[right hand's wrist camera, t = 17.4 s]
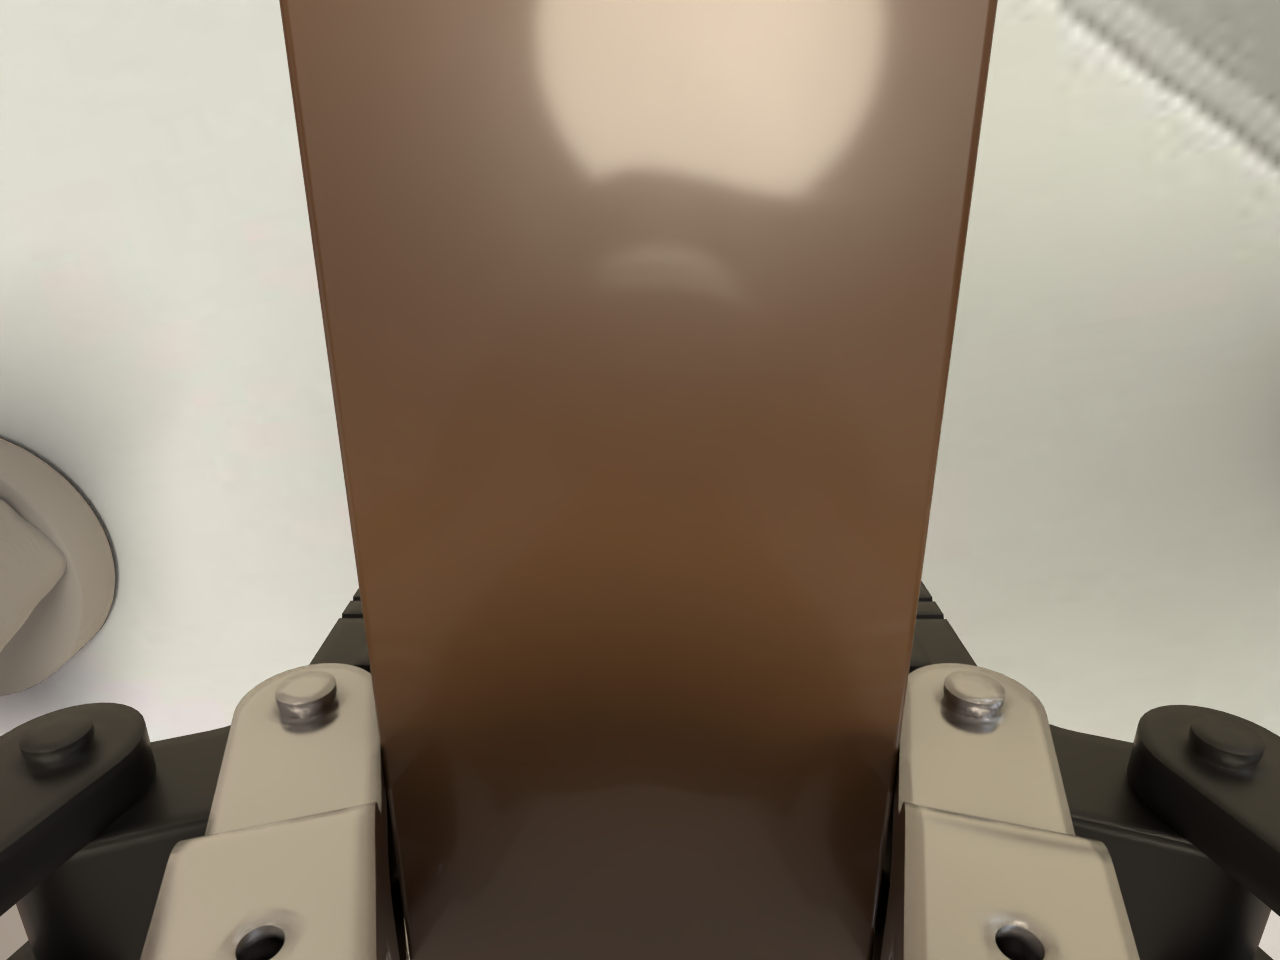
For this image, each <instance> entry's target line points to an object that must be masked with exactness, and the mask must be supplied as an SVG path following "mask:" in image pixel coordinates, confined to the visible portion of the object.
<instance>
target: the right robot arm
mask: <svg viewBox="0 0 1280 960" xmlns="http://www.w3.org/2000/svg"><path fill="white" fill-rule="evenodd" d="M15 904H16V905H17V908H18V911H19V914H20V917H21V919H22V922H23V925H24V928H25V931H26V934H27V936H28V939H29V940H28V941H27V942H26V943H25V944H24V945H23V946H22V947H21V948H19V949H18V950H17V951H16V952H15V953H14V954H13V955H12V956H10V957H9V958H8V959H7V960H409V950H408V943H407V935H406V928H405V921H404V913H403V906H402V898H401V891H400V884H399V876H398V869H397V862H396V854H395V847H394V840H393V832H392V825H391V818H390V810H389V803H388V795H387V788H386V781H385V773H384V766H383V759H382V751H381V744H380V737H379V729H378V722H377V715H376V707H375V700H374V692H373V685H372V678H371V670H370V663H369V656H368V648H367V641H366V634H365V626H364V619H363V612H362V604H361V597H360V590H359V589H358V590H357V592H356V593H355V595H354V596H353V601H350V603H349V604H348V606H347V607H346V609H345V610H344V612H343V613H342V618H339V620H338V621H337V623H336V624H335V626H334V627H333V629H332V630H331V632H330V634H329V635H328V637H327V638H326V640H325V641H324V643H323V644H322V646H321V647H320V649H319V651H318V652H317V654H316V655H315V657H314V658H313V660H312V661H311V663H310V664H309V665H307V666H302V667H298V668H295V669H291V670H288V671H285V672H282V673H280V674H277V675H275V676H273V677H271V678H269V679H267V680H265V681H263V682H262V683H260V684H258V685H257V686H256V687H254V688H253V689H252V690H250V691H249V692H248V693H247V694H246V695H245V696H244V697H243V698H242V699H241V701H240V702H239V704H238V705H237V707H236V709H235V712H234V715H233V719H232V723H231V725H230V726H227V727H224V728H219V729H215V730H211V731H206V732H201V733H196V734H191V735H186V736H181V737H176V738H171V739H166V740H161V741H156V742H151V743H150V740H149V736H148V732H147V728H146V724H145V721H144V718H143V716H142V715H141V714H140V713H139V712H138V711H137V710H135V709H134V708H132V707H129V706H126V705H123V704H116V703H92V704H84V705H78V706H73V707H68V708H64V709H60V710H57V711H54V712H51V713H48V714H45V715H42V716H40V717H37V718H35V719H32V720H30V721H28V722H26V723H24V724H22V725H20V726H18V727H16V728H14V729H13V730H11V731H9V732H7V733H6V734H4V735H2V736H1V737H0V916H1V915H2V914H4V913H5V912H6V911H7V910H8V909H10V908H11V907H12V906H13V905H15ZM1271 909H1272V910H1273V911H1274V912H1275V913H1276V914H1278V915H1279V916H1280V737H1279V736H1278V735H1276V734H1274V733H1272V732H1271V731H1269V730H1267V729H1265V728H1263V727H1261V726H1259V725H1257V724H1255V723H1253V722H1251V721H1248V720H1246V719H1243V718H1241V717H1238V716H1235V715H1232V714H1229V713H1226V712H1222V711H1218V710H1214V709H1210V708H1204V707H1198V706H1189V705H1169V706H1162V707H1158V708H1155V709H1152V710H1150V711H1148V712H1147V713H1145V714H1144V715H1143V716H1142V717H1141V718H1140V721H1139V724H1138V727H1137V731H1136V735H1135V739H1134V743H1130V742H1125V741H1120V740H1115V739H1110V738H1105V737H1100V736H1095V735H1090V734H1085V733H1080V732H1075V731H1071V730H1067V729H1063V728H1060V727H1056V726H1053V725H1050V724H1049V723H1048V718H1047V714H1046V711H1045V709H1044V706H1043V705H1042V703H1041V702H1040V700H1039V699H1038V698H1037V697H1036V696H1035V695H1034V694H1033V693H1032V692H1031V691H1030V690H1028V689H1027V688H1026V687H1025V686H1023V685H1022V684H1020V683H1018V682H1017V681H1015V680H1013V679H1011V678H1009V677H1007V676H1005V675H1003V674H1000V673H998V672H995V671H992V670H989V669H985V668H982V667H978V666H977V665H976V663H975V662H974V660H973V659H972V657H971V656H970V654H969V653H968V651H967V650H966V648H965V647H964V645H963V644H962V642H961V641H960V639H959V638H958V636H957V634H956V633H955V631H954V630H953V628H952V627H951V625H950V624H949V622H948V621H947V619H944V617H943V613H942V612H941V610H940V609H939V607H938V605H937V604H936V602H932V596H931V595H930V593H929V592H928V590H927V589H926V587H925V586H924V584H923V583H922V581H921V585H920V592H919V600H918V607H917V615H916V623H915V630H914V638H913V645H912V653H911V660H910V668H909V676H908V683H907V691H906V698H905V706H904V713H903V721H902V729H901V736H900V744H899V751H898V759H897V766H896V774H895V782H894V789H893V797H892V804H891V812H890V819H889V827H888V835H887V842H886V850H885V857H884V865H883V872H882V880H881V888H880V895H879V903H878V910H877V918H876V925H875V933H874V941H873V948H872V956H871V960H1273V959H1272V958H1271V957H1270V956H1269V955H1267V954H1266V953H1265V952H1264V951H1263V950H1262V949H1261V948H1260V947H1258V945H1259V943H1260V940H1261V937H1262V934H1263V931H1264V929H1265V926H1266V923H1267V920H1268V917H1269V915H1270V912H1271Z"/></svg>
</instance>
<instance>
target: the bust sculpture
mask: <svg viewBox="0 0 1280 960" xmlns="http://www.w3.org/2000/svg"><path fill="white" fill-rule="evenodd" d="M114 590H115V569H114V562H113V557H112V553H111V549H110V546H109V543H108V540H107V537H106V535H105V533H104V531H103V528H102V526H101V524H100V523H99V521H98V519H97V517H96V516H95V514H94V512H93V511H92V509H91V508H90V507H89V505H88V504H87V502H86V501H85V500H84V499H83V497H82V496H81V495H80V494H79V493H78V491H77V490H76V489H75V488H74V487H73V486H72V485H71V484H70V483H69V482H68V481H67V480H66V479H65V478H64V477H63V476H62V475H60V474H59V473H58V472H57V471H56V470H54V469H53V468H52V467H51V466H49V465H48V464H47V463H45V462H44V461H42V460H41V459H39V458H38V457H36V456H35V455H33V454H32V453H30V452H28V451H26V450H25V449H23V448H21V447H19V446H17V445H15V444H13V443H11V442H8V441H6V440H4V439H1V438H0V696H3V695H8V694H12V693H16V692H19V691H22V690H25V689H28V688H30V687H32V686H34V685H36V684H38V683H40V682H42V681H43V680H45V679H46V678H48V677H49V676H51V675H52V674H53V673H54V672H55V671H57V670H58V669H59V668H60V667H61V666H62V665H63V664H64V663H65V662H67V661H68V660H69V659H70V658H71V657H72V656H73V655H74V654H76V653H77V652H78V651H79V650H80V649H81V648H82V647H83V646H84V645H86V644H87V643H88V642H89V641H90V640H91V639H92V638H93V637H94V636H95V635H96V633H97V632H98V631H99V630H100V628H101V627H102V625H103V623H104V622H105V620H106V618H107V616H108V613H109V611H110V608H111V605H112V601H113V597H114Z"/></svg>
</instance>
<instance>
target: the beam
mask: <svg viewBox="0 0 1280 960" xmlns="http://www.w3.org/2000/svg"><path fill="white" fill-rule="evenodd" d="M279 1H280V8H281V16H282V23H283V30H284V38H285V45H286V53H287V60H288V67H289V75H290V82H291V89H292V97H293V104H294V111H295V119H296V126H297V133H298V141H299V148H300V156H301V163H302V170H303V178H304V185H305V192H306V200H307V207H308V214H309V222H310V229H311V236H312V244H313V251H314V259H315V266H316V273H317V281H318V288H319V295H320V303H321V310H322V317H323V325H324V332H325V339H326V347H327V354H328V361H329V369H330V376H331V384H332V391H333V398H334V406H335V413H336V420H337V428H338V435H339V442H340V450H341V457H342V464H343V472H344V479H345V487H346V494H347V501H348V509H349V516H350V523H351V531H352V538H353V545H354V553H355V560H356V567H357V575H358V582H359V590H360V597H361V604H362V612H363V619H364V626H365V634H366V641H367V648H368V656H369V663H370V670H371V678H372V685H373V692H374V700H375V707H376V715H377V722H378V729H379V737H380V744H381V751H382V759H383V766H384V773H385V781H386V788H387V795H388V803H389V810H390V818H391V825H392V832H393V840H394V847H395V854H396V862H397V869H398V876H399V884H400V891H401V898H402V906H403V913H404V921H405V928H406V935H407V943H408V950H409V957H410V960H871V956H872V948H873V941H874V933H875V925H876V918H877V910H878V903H879V895H880V888H881V880H882V872H883V865H884V857H885V850H886V842H887V835H888V827H889V819H890V812H891V804H892V797H893V789H894V782H895V774H896V766H897V759H898V751H899V744H900V736H901V729H902V721H903V713H904V706H905V698H906V691H907V683H908V676H909V668H910V660H911V653H912V645H913V638H914V630H915V623H916V615H917V607H918V600H919V592H920V585H921V577H922V570H923V562H924V554H925V547H926V539H927V532H928V524H929V517H930V509H931V501H932V494H933V486H934V479H935V471H936V464H937V456H938V448H939V441H940V433H941V426H942V418H943V411H944V403H945V395H946V388H947V380H948V373H949V365H950V358H951V350H952V342H953V335H954V327H955V320H956V312H957V305H958V297H959V289H960V282H961V274H962V267H963V259H964V252H965V244H966V236H967V229H968V221H969V214H970V206H971V199H972V191H973V183H974V176H975V168H976V161H977V153H978V146H979V138H980V130H981V123H982V115H983V108H984V100H985V93H986V85H987V77H988V70H989V62H990V55H991V47H992V39H993V32H994V24H995V17H996V9H997V2H998V0H279Z"/></svg>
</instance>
